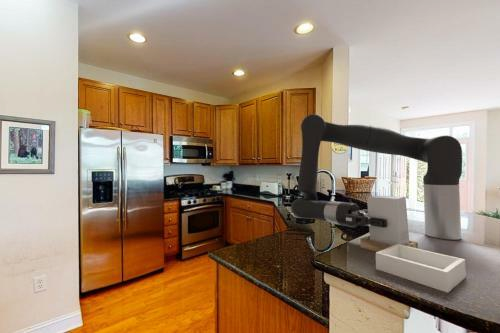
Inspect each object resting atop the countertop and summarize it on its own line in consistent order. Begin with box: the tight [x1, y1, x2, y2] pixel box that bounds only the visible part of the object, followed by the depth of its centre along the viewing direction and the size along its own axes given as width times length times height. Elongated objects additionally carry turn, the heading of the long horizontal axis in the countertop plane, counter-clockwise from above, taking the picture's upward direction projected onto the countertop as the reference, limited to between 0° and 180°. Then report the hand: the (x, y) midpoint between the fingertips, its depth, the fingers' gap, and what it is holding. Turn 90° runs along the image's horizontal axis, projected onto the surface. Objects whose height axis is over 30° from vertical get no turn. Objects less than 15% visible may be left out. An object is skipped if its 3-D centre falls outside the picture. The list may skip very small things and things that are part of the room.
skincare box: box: [366, 195, 410, 245], centre depth 64 cm, size 8×6×15 cm
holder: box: [359, 235, 419, 253], centre depth 64 cm, size 9×11×2 cm
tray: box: [375, 244, 467, 294], centre depth 49 cm, size 11×13×4 cm
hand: (394, 221), depth 63 cm, fingers open, 8 cm apart
